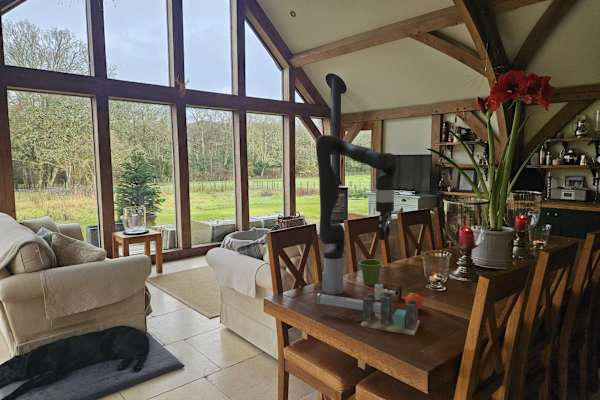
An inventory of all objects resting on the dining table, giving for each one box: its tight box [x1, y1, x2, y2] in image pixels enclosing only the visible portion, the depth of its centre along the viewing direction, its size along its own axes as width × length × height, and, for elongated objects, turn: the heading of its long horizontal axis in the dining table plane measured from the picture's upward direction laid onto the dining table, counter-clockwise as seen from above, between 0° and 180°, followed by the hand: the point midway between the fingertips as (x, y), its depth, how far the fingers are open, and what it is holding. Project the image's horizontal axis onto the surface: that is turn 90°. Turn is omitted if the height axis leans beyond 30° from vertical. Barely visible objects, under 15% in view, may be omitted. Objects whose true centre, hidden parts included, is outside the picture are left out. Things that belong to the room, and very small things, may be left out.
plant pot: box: [358, 258, 383, 286], centre depth 200 cm, size 12×12×11 cm
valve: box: [373, 283, 402, 301], centre depth 178 cm, size 7×7×12 cm
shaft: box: [315, 292, 381, 314], centre depth 158 cm, size 30×4×4 cm, turn 64°
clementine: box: [405, 292, 424, 310], centre depth 166 cm, size 8×7×7 cm
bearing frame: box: [360, 292, 421, 336], centre depth 151 cm, size 20×12×12 cm, turn 64°
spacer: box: [393, 308, 406, 327], centre depth 149 cm, size 4×5×4 cm
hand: (384, 237), depth 167 cm, fingers open, 8 cm apart
